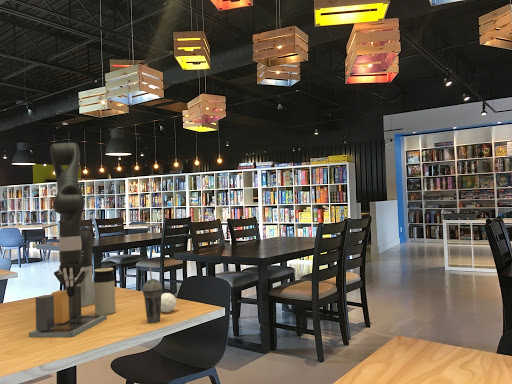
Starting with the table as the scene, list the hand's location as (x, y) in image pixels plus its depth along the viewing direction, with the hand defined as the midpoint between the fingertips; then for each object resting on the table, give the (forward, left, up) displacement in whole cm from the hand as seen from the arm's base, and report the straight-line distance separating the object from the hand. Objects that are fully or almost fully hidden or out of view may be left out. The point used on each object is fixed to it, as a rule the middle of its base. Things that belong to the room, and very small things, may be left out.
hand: (71, 296), depth 153 cm
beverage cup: (-21, +20, -11) cm, 31 cm away
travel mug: (-19, -9, -11) cm, 24 cm away
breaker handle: (+2, -4, -9) cm, 10 cm away
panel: (0, -1, -11) cm, 11 cm away
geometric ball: (-33, +13, -11) cm, 37 cm away
